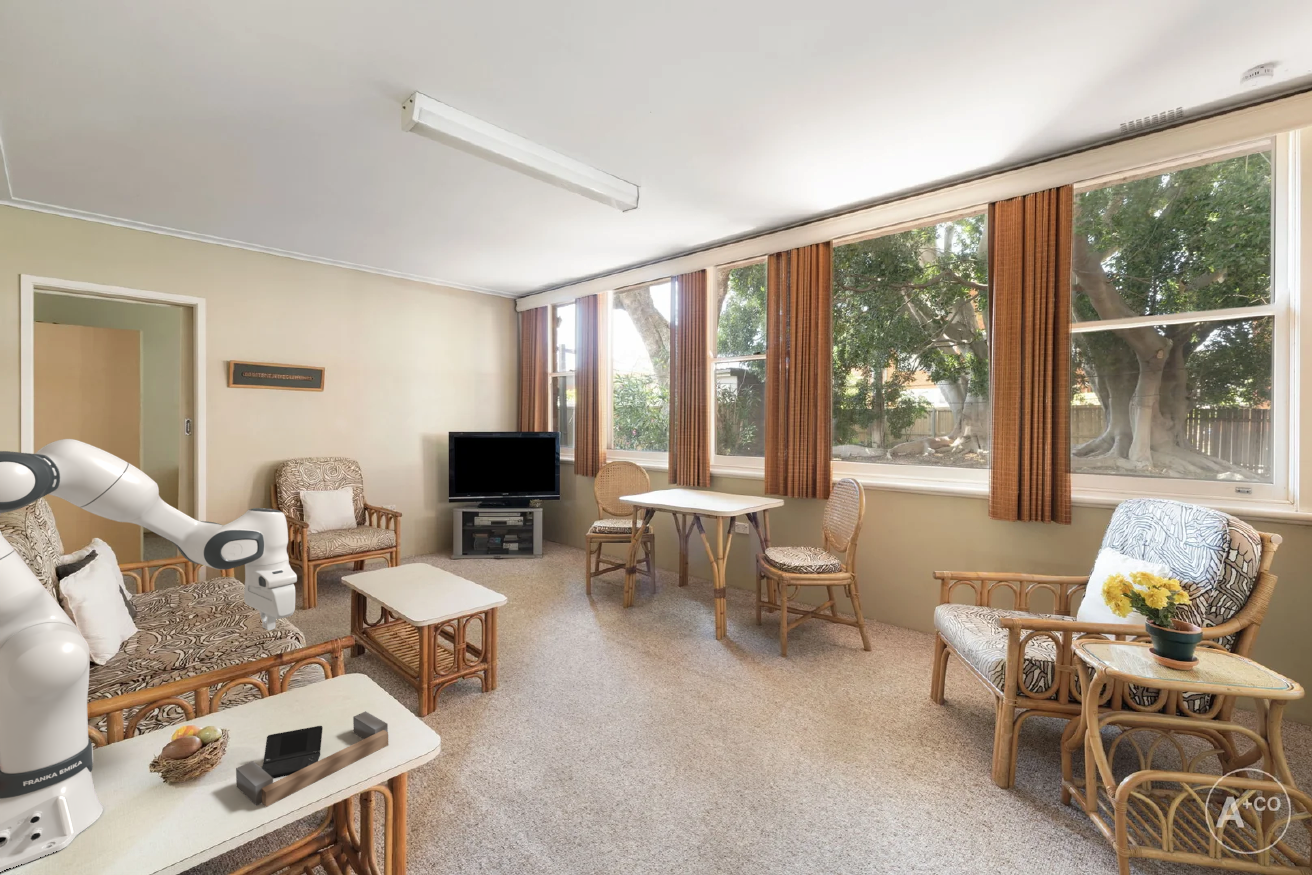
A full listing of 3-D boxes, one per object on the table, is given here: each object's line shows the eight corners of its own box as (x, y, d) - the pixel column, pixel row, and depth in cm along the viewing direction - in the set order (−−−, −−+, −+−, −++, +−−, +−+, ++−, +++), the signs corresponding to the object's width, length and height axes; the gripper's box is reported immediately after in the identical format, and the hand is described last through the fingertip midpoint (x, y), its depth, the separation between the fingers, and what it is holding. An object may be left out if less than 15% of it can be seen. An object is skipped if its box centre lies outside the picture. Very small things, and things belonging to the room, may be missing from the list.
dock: (260, 809, 108) (259, 789, 108) (236, 786, 115) (236, 768, 114) (392, 742, 130) (392, 726, 130) (365, 726, 137) (365, 711, 137)
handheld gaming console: (255, 780, 114) (264, 727, 120) (255, 786, 119) (264, 735, 125) (319, 770, 120) (325, 720, 126) (317, 776, 125) (322, 728, 131)
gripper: (235, 569, 138) (237, 623, 139) (270, 582, 127) (272, 641, 127) (264, 564, 144) (266, 616, 144) (300, 576, 132) (301, 633, 133)
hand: (269, 628), depth 136 cm, fingers closed
